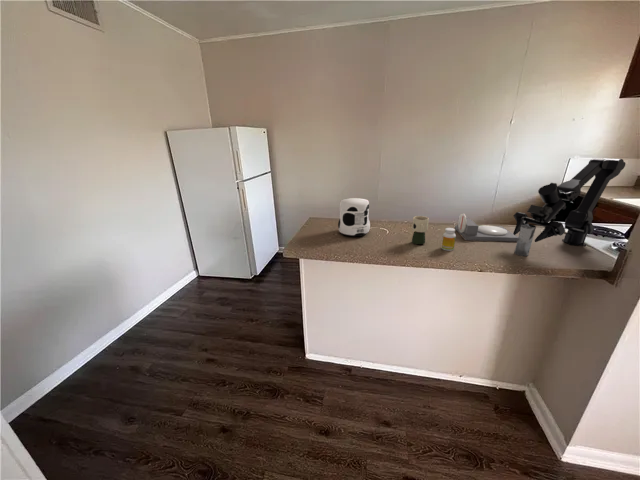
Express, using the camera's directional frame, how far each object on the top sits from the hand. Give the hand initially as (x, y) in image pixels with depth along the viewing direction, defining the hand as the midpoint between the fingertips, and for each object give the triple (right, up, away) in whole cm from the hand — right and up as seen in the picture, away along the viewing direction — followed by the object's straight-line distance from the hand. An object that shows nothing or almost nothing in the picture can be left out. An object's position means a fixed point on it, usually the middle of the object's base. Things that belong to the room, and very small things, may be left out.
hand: (524, 237), depth 116 cm
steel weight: (+1, -7, +3) cm, 8 cm away
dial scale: (-1, +2, +26) cm, 26 cm away
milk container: (-69, +3, +33) cm, 77 cm away
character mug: (-39, -3, +18) cm, 43 cm away
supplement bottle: (-28, -5, +10) cm, 30 cm away
